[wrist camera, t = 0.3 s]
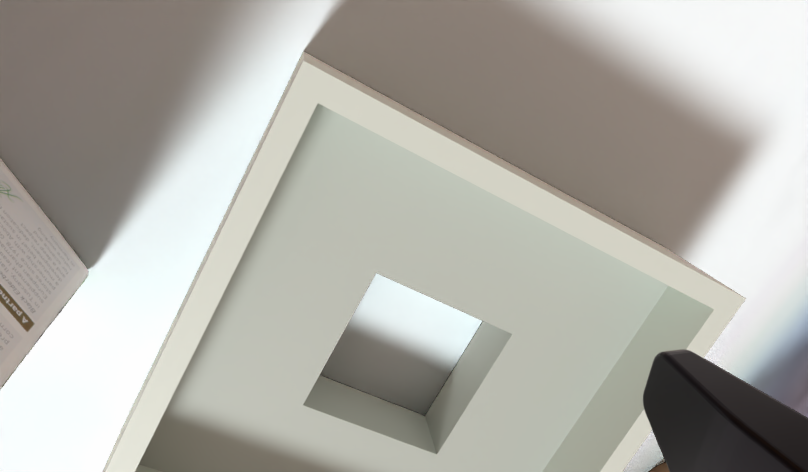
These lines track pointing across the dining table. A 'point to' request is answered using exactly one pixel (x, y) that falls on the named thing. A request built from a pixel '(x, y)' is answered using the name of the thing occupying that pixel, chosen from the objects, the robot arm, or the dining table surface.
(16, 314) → the syrup box
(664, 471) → the peg
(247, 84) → the dining table surface
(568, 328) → the bore box
